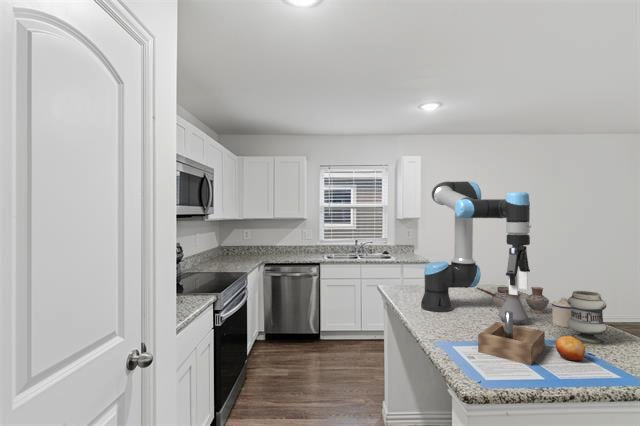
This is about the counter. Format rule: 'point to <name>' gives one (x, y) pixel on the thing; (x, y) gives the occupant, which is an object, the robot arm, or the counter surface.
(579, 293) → the apothecary jar
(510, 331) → the metal post
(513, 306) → the coffee pot
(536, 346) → the walnut box
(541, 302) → the pottery
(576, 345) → the fruit
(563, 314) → the teacup with lid
